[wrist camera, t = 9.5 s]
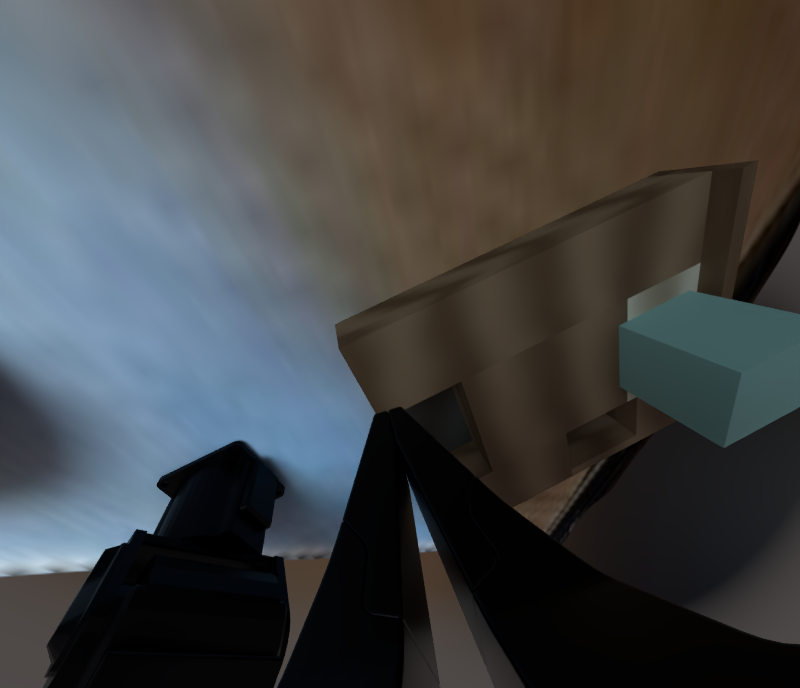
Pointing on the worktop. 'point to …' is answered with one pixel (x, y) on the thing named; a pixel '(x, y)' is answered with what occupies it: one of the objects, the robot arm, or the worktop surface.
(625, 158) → the worktop surface
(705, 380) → the teal block
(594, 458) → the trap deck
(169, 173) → the worktop surface
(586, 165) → the worktop surface
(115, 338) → the worktop surface
